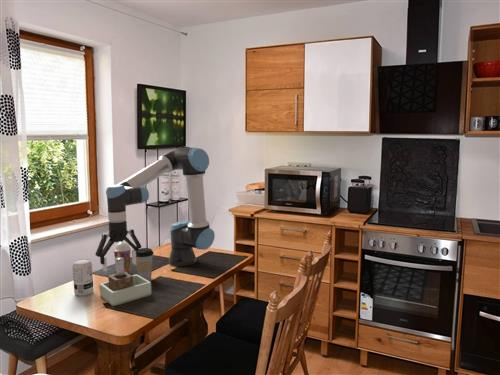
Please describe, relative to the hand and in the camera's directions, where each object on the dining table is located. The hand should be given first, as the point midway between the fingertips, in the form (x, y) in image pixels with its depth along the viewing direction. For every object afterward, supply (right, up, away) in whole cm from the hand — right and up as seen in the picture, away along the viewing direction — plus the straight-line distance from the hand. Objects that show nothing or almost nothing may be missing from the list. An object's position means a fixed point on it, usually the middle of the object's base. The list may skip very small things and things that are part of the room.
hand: (120, 267), depth 184 cm
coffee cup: (+5, -11, +23) cm, 26 cm away
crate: (+2, -13, +3) cm, 14 cm away
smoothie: (-8, -10, +31) cm, 33 cm away
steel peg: (0, -8, +1) cm, 8 cm away
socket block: (0, -14, +2) cm, 14 cm away
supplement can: (-19, -13, +7) cm, 24 cm away
